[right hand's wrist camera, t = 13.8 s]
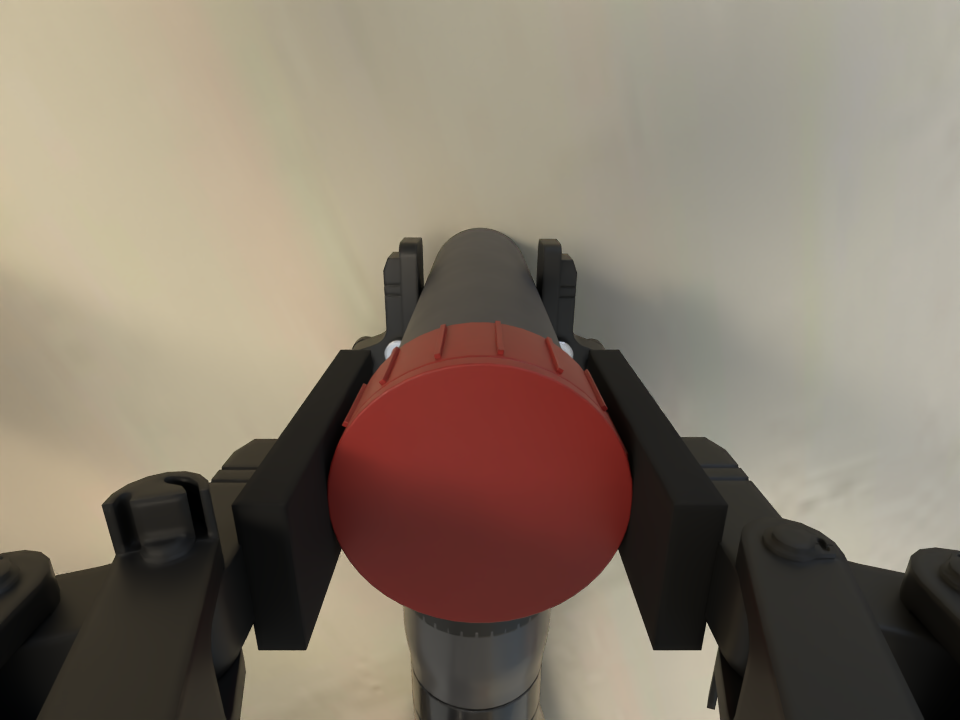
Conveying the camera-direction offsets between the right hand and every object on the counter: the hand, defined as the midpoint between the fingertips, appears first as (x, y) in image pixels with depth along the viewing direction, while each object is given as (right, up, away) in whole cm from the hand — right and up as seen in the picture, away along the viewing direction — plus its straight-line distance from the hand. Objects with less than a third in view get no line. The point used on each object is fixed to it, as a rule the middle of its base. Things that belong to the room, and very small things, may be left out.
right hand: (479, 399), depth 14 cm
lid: (0, -2, -4) cm, 4 cm away
